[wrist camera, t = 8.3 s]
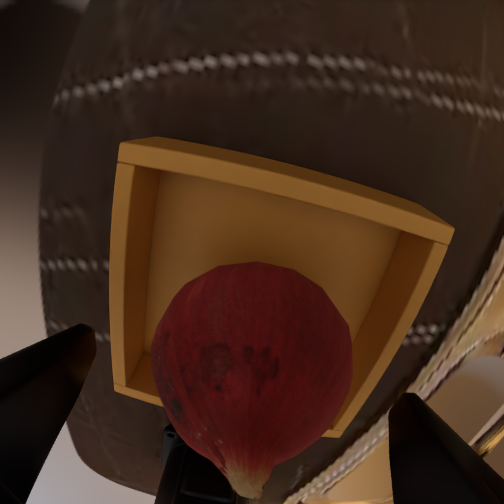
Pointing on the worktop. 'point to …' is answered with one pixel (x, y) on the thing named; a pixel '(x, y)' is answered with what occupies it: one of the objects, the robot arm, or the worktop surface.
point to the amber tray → (262, 249)
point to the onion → (251, 367)
